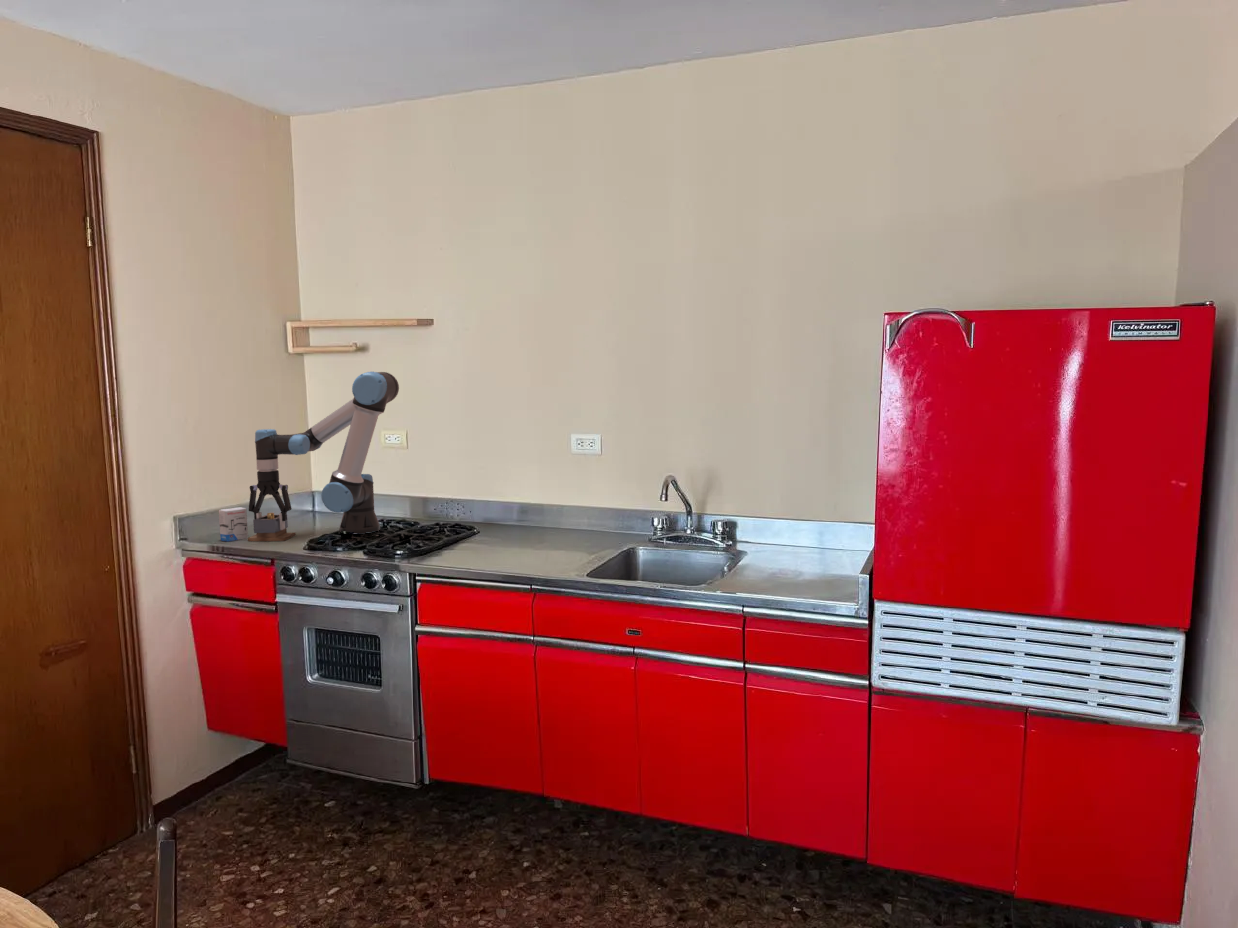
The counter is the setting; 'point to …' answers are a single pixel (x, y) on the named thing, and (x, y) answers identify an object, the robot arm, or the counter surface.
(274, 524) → the collar
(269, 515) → the post
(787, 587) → the counter surface
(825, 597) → the counter surface
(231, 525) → the ink box
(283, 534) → the stand
